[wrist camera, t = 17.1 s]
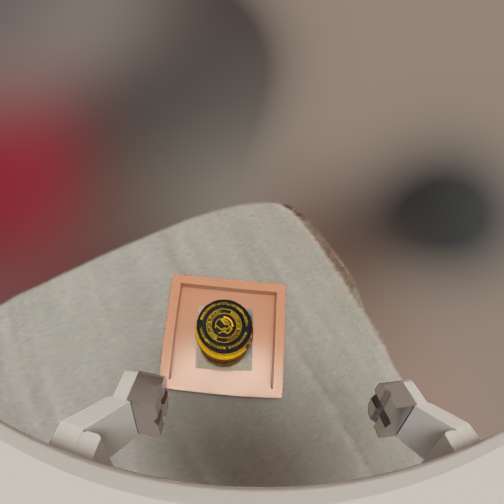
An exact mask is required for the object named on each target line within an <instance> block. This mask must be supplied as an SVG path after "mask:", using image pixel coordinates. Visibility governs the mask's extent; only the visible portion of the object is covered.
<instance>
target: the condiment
mask: <svg viewBox="0 0 504 504" xmlns="http://www.w3.org/2000/svg"><path fill="white" fill-rule="evenodd" d="M195 337H196V340H197V349H196V368H202V369H219V370H252V346H253V345H252V343H253V309H250V308H246V309H245V308H244V307H242V305H241V304H238V303H237V302H235V301H232V300H216V301H213V302H211V303H210V304H208V305H206V306H205V307H204V306H199V314H198V320H197V323H196V326H195Z"/></svg>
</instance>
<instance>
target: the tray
mask: <svg viewBox="0 0 504 504" xmlns="http://www.w3.org/2000/svg"><path fill="white" fill-rule="evenodd" d="M285 295H286V285H285V284H273V283H262V282H251V281H240V280H230V279H220V278H210V277H200V276H191V275H182V274H174V275H173V281H172V287H171V293H170V299H169V305H168V312H167V319H166V326H165V333H164V341H163V348H162V357H161V365H160V374H159V375H162V376H166V378H167V386H166V388H170V389H177V390H184V391H191V392H200V393H209V394H219V395H231V396H245V397H266V398H282V390H283V367H284V338H285ZM216 300H232V301H235V302H237V303H238V304H241V305H242V307H244V308H245V309H246V308H250V309H253V343H252V345H253V346H252V370H219V369H202V368H196V349H197V340H196V337H195V326H196V323H197V320H198V314H199V306H204V307H205V306H206V305H208V304H210V303H211V302H213V301H216Z"/></svg>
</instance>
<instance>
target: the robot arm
mask: <svg viewBox="0 0 504 504" xmlns="http://www.w3.org/2000/svg"><path fill="white" fill-rule="evenodd" d="M166 386H167V378H166V376H162V375H157V374H151V373H146V372H141V371H135V370H131V369H127V370H125V371H124V373H123V375H122V378H121V380H120V382H119V384H118V386H117V388H116V390H115V392H114V394H113V396H112V397H110V396H108V397H106V398H104V399H102V400H100V401H99V402H97V403H95V404H93V405H91V406H89V407H87V408H85V409H83V410H82V411H80V412H78V413H76V414H74V415H72V416H70V417H68V418H66V419H64V420H62V421H61V423H60V424H59V426H58V428H57V430H56V431H55V433H54V435H53V437H52V439H51V441H50V442H49V444H48V443H45V442H43V441H41V440H39V439H37V438H34V437H32V436H30V435H28V434H26V433H24V432H22V431H20V430H18V429H16V428H14V427H12V426H11V425H9V424H7V423H5V422H3V421H1V420H0V504H504V430H502V431H500V432H498V433H496V434H494V435H492V436H490V437H488V438H486V439H483V440H480V439H479V438H478V436H477V435H476V433H475V432H474V430H473V429H472V427H471V426H470V424H469V423H467V422H465V421H463V420H461V419H459V418H457V417H455V416H453V415H452V414H450V413H448V412H446V411H444V410H442V409H441V408H439V407H437V406H435V405H433V404H431V403H427V402H426V401H425V399H424V398H423V396H422V394H421V393H420V392H419V390H418V389H417V387H416V386H415V384H414V383H413V381H411V380H402V381H395V382H386V383H379V384H378V385H377V386H376V388H375V393H376V394H375V395H374V396H373V397H372V398H371V399H370V401H369V404H368V415H369V417H370V419H371V420H372V421H374V422H375V425H374V429H375V431H376V433H377V435H378V437H379V438H383V437H390V436H396V437H397V438H399V439H400V440H401V441H402V442H403V443H405V444H406V445H407V446H408V447H409V448H411V449H412V450H413V451H414V452H416V453H417V454H418V455H419V456H421V457H422V458H423V459H424V460H423V461H422V463H421V464H418V465H414V466H411V467H407V468H403V469H400V470H396V471H392V472H388V473H383V474H379V475H374V476H369V477H364V478H359V479H353V480H347V481H340V482H333V483H325V484H315V485H304V486H287V487H237V486H220V485H208V484H199V483H191V482H183V481H177V480H170V479H165V478H159V477H154V476H149V475H144V474H140V473H136V472H131V471H127V470H123V469H120V468H116V467H114V466H113V464H112V462H111V460H110V457H111V456H112V455H114V454H115V453H116V452H117V451H119V450H120V449H121V448H122V447H123V446H125V445H126V444H127V443H128V442H129V441H131V440H132V439H133V438H134V437H136V436H137V435H138V433H140V434H146V435H151V436H157V437H161V433H162V429H163V425H164V422H163V417H164V416H166V413H167V408H168V392H167V391H166Z"/></svg>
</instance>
